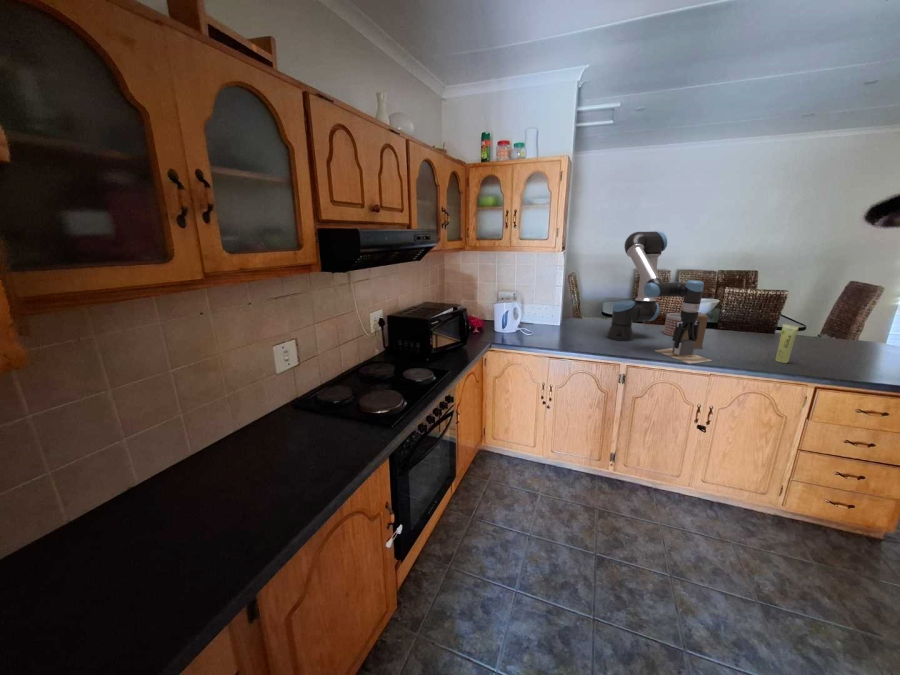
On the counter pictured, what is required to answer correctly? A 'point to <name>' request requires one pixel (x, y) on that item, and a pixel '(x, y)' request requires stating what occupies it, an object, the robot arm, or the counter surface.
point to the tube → (786, 342)
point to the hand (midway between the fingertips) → (682, 353)
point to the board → (688, 359)
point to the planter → (671, 323)
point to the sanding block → (685, 348)
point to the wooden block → (699, 330)
